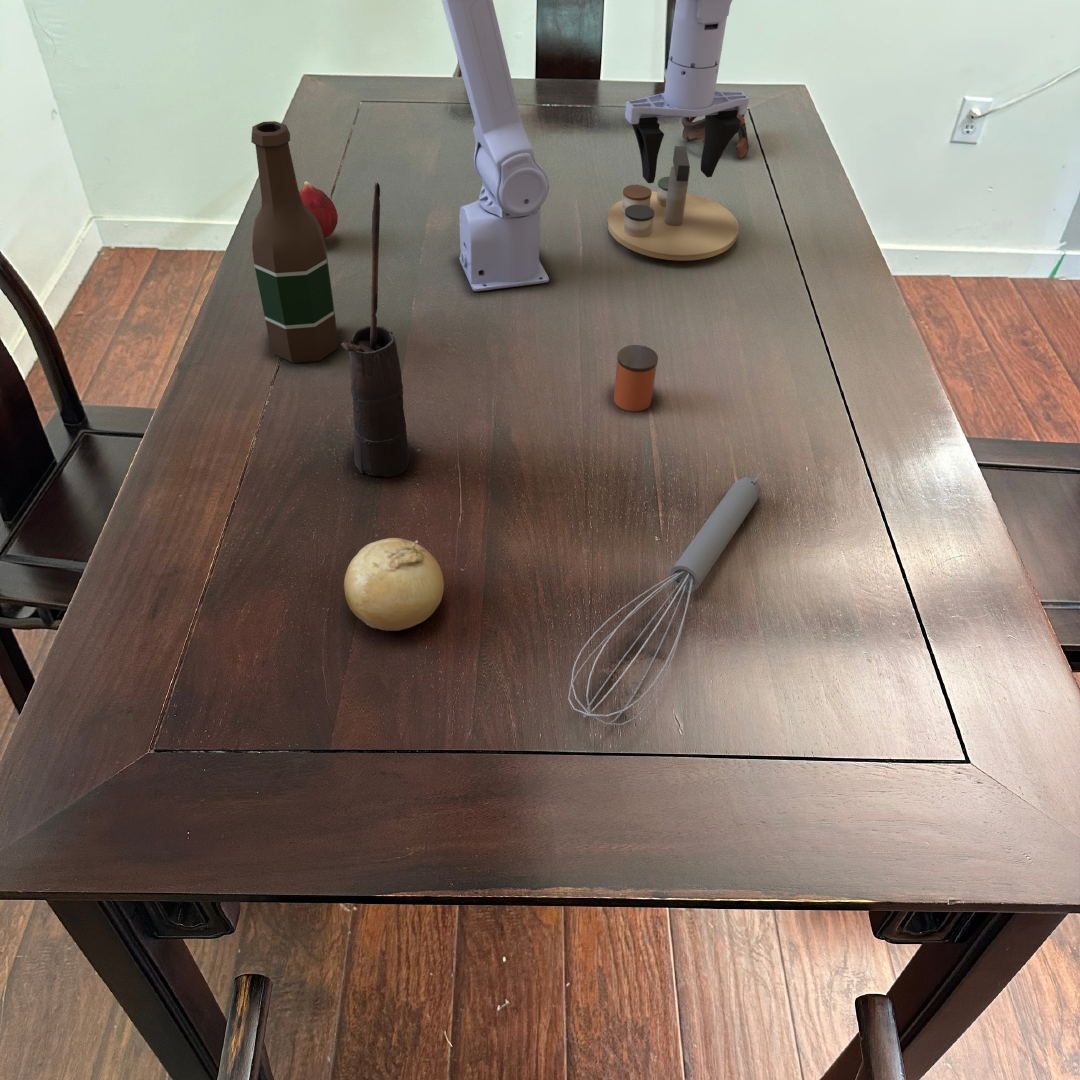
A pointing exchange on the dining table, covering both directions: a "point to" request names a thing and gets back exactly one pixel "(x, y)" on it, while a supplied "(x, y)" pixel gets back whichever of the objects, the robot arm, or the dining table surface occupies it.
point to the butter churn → (377, 386)
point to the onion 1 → (320, 208)
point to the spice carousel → (672, 219)
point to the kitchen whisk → (683, 579)
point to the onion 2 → (393, 584)
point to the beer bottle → (290, 256)
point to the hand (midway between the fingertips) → (677, 176)
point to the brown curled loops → (698, 132)
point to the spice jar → (635, 377)
